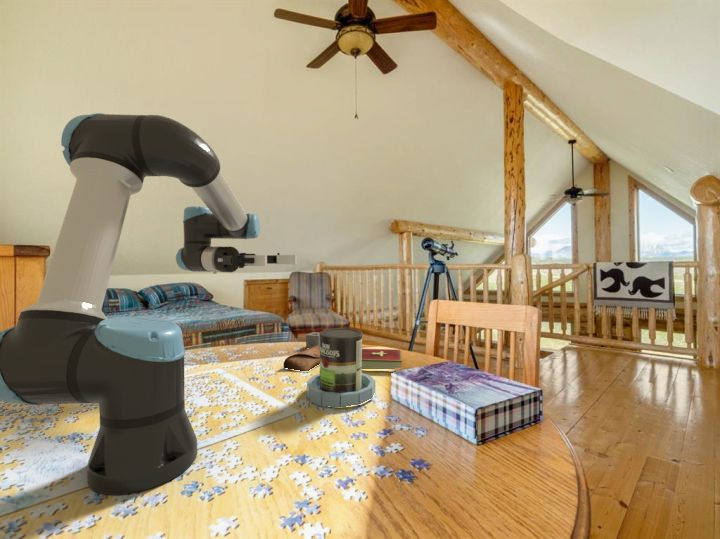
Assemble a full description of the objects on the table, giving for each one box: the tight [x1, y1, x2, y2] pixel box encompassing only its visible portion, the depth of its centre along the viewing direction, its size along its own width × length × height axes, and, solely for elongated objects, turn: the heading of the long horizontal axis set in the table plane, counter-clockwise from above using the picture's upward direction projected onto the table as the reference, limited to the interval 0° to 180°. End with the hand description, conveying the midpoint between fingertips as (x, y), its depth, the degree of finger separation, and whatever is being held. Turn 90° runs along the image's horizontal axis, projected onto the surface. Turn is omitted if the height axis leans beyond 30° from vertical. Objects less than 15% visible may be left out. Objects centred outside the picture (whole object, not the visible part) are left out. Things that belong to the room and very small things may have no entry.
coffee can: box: [319, 327, 364, 393], centre depth 87 cm, size 10×10×14 cm
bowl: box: [306, 372, 376, 407], centre depth 87 cm, size 16×16×3 cm
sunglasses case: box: [283, 345, 320, 372], centre depth 112 cm, size 18×7×7 cm, turn 154°
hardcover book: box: [362, 348, 403, 369], centre depth 109 cm, size 12×21×4 cm, turn 85°
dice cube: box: [305, 331, 320, 349], centre depth 128 cm, size 5×5×5 cm
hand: (282, 260), depth 98 cm, fingers open, 13 cm apart
